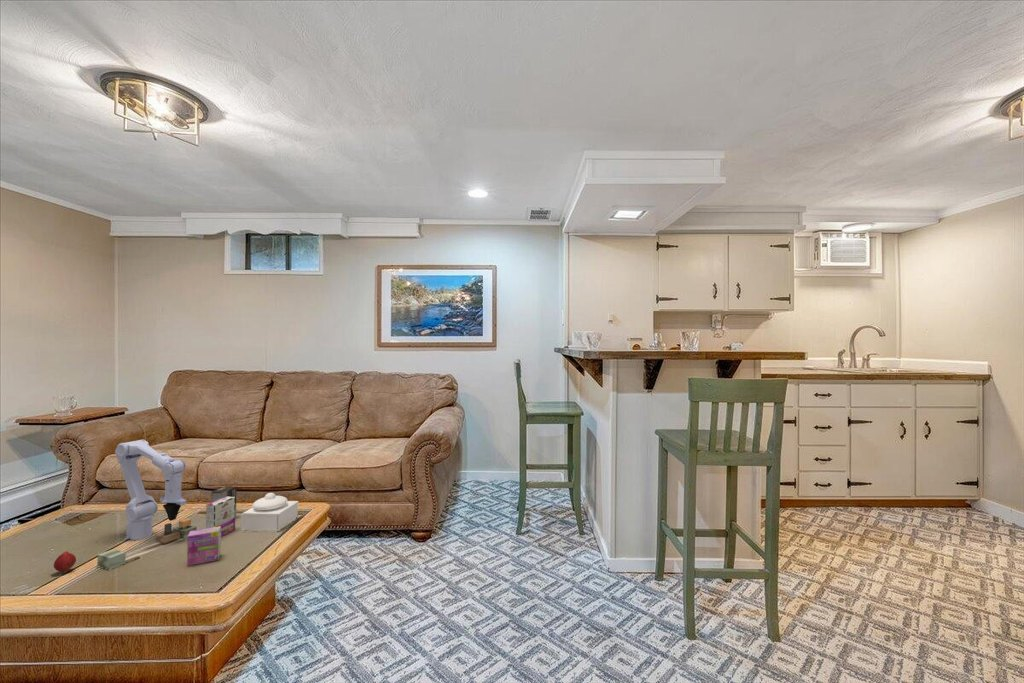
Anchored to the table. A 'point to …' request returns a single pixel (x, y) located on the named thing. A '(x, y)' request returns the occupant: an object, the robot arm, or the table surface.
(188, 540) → the box
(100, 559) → the rail stand
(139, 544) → the table surface
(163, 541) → the carriage
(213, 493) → the coffee box
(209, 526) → the candy bar box
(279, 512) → the butter dish
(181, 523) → the button
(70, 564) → the onion
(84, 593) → the table surface
